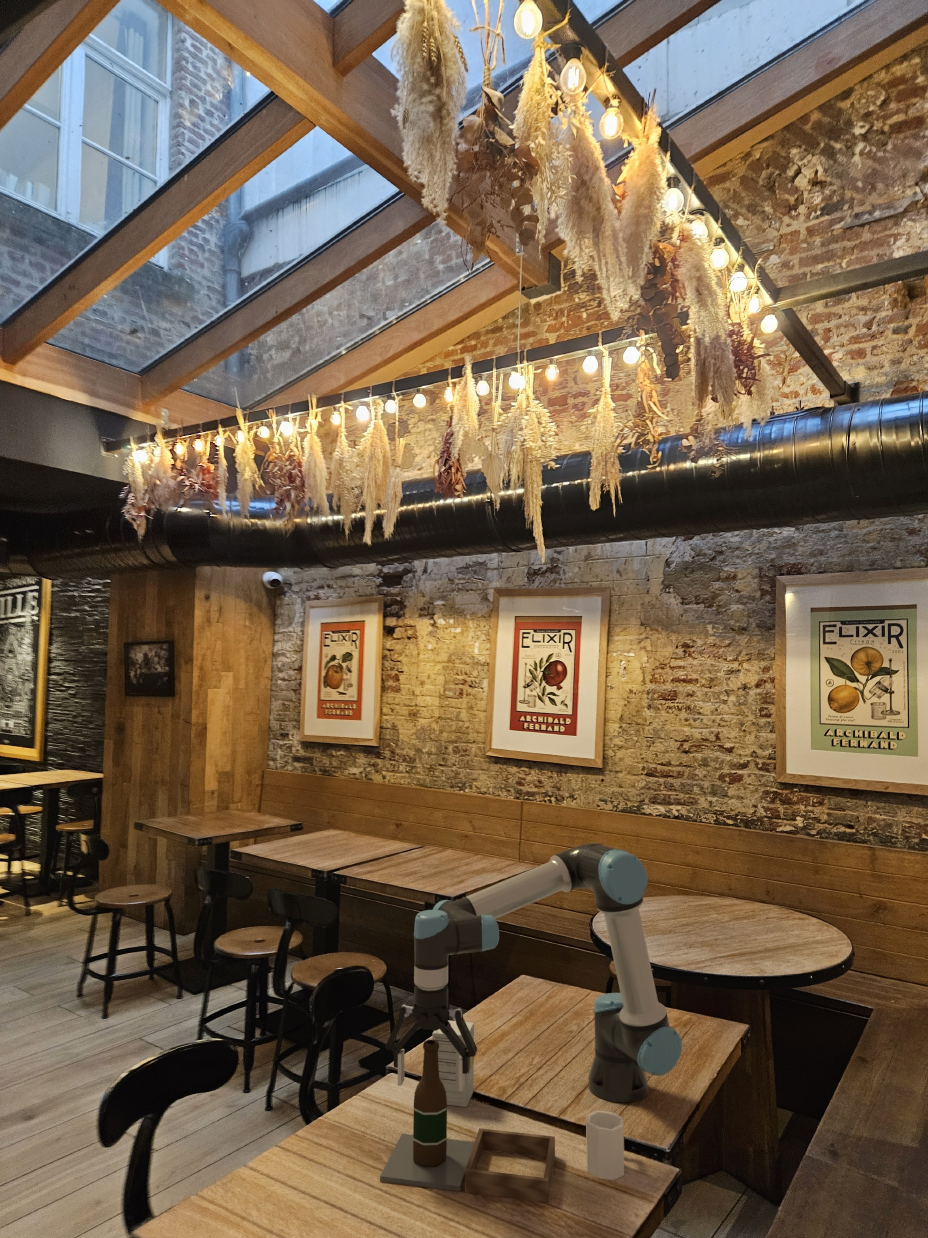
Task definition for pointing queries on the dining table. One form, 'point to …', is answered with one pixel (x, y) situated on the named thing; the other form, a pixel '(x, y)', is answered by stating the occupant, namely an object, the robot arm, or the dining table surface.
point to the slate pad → (438, 1177)
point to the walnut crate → (507, 1182)
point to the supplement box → (454, 1067)
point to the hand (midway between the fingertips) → (431, 1086)
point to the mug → (605, 1145)
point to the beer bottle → (430, 1112)
